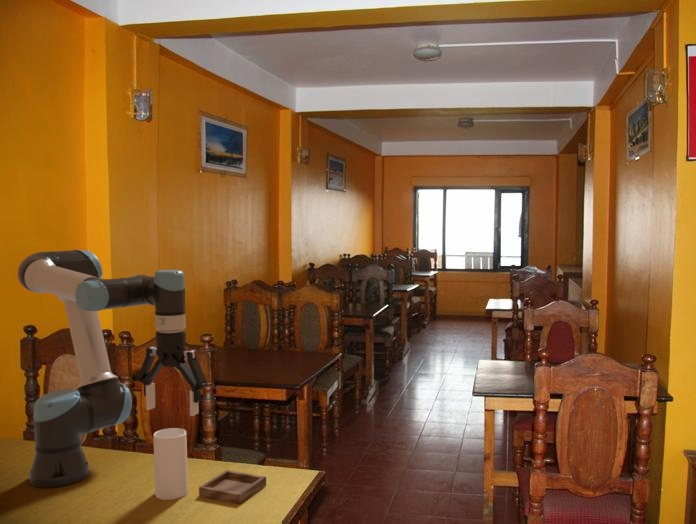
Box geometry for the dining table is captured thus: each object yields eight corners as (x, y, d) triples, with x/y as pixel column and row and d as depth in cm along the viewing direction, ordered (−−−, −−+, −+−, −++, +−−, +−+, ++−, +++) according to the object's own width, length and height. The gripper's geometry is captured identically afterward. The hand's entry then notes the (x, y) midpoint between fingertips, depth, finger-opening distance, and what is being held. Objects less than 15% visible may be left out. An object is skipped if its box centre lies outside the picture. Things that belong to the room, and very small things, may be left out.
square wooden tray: (199, 496, 168) (199, 487, 168) (226, 478, 180) (226, 470, 180) (240, 503, 163) (240, 494, 163) (266, 485, 175) (266, 476, 175)
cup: (148, 496, 168) (146, 435, 167) (170, 484, 176) (169, 426, 175) (172, 502, 165) (170, 440, 164) (194, 490, 172) (192, 430, 171)
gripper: (121, 329, 169) (123, 410, 170) (203, 336, 160) (204, 421, 161) (140, 325, 176) (142, 402, 177) (220, 331, 167) (221, 412, 168)
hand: (172, 411), depth 169 cm, fingers open, 13 cm apart
